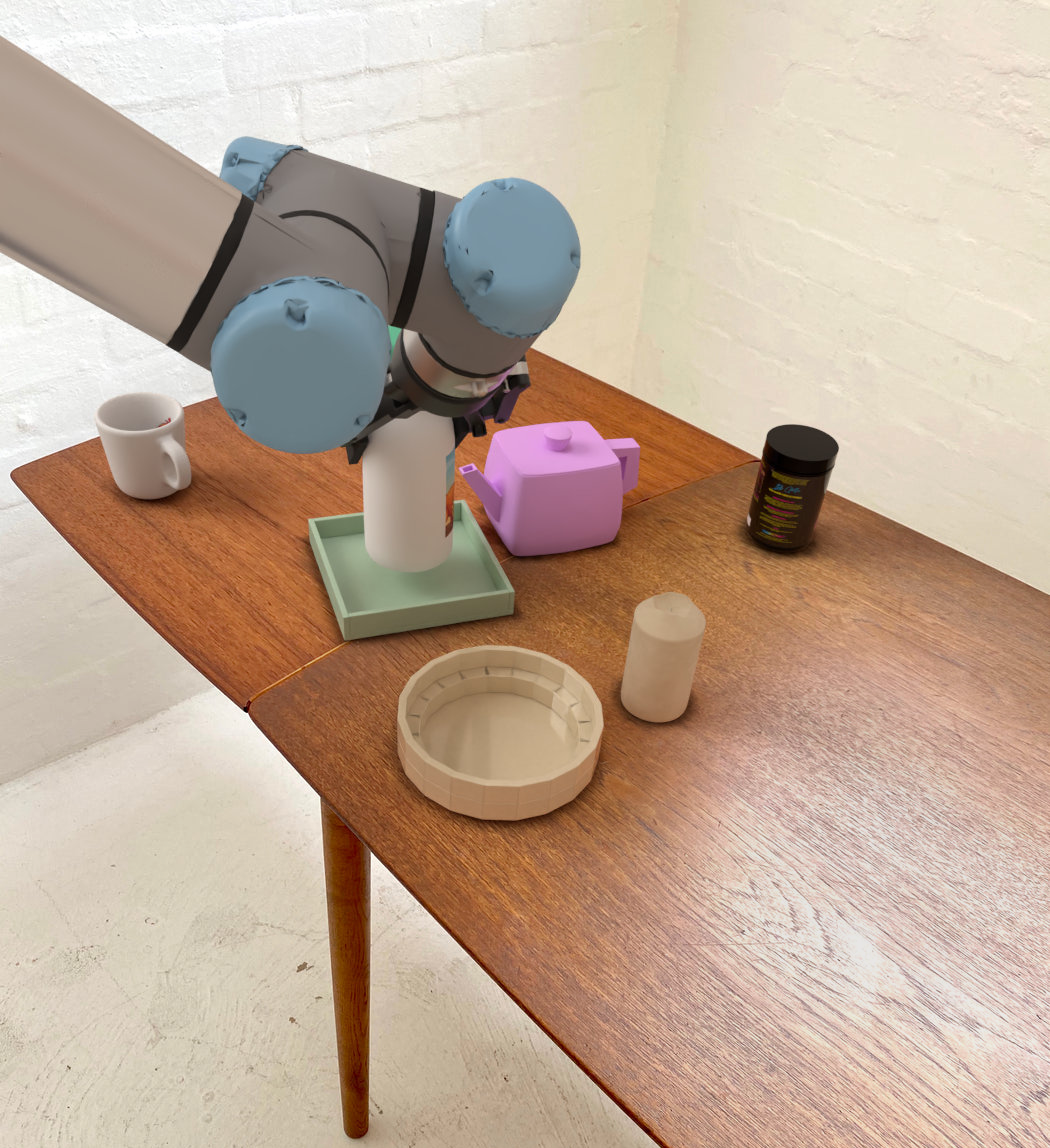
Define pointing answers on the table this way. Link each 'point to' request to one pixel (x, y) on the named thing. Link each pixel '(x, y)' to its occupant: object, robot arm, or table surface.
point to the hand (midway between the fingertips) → (398, 443)
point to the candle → (662, 657)
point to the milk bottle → (409, 490)
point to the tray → (408, 580)
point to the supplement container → (790, 487)
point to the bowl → (499, 732)
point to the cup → (145, 443)
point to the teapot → (555, 486)
